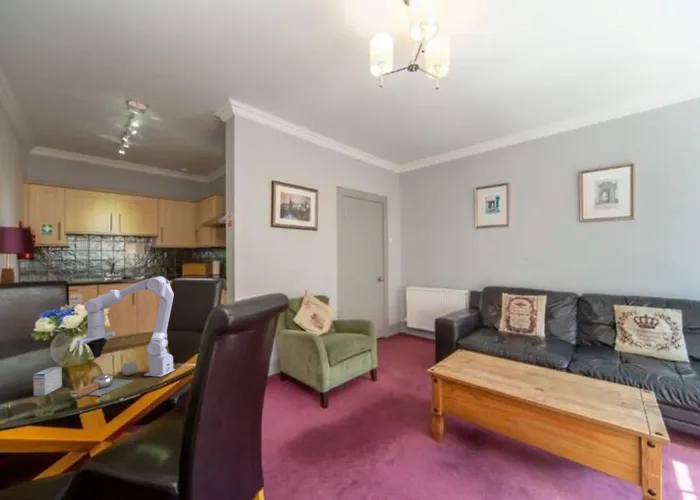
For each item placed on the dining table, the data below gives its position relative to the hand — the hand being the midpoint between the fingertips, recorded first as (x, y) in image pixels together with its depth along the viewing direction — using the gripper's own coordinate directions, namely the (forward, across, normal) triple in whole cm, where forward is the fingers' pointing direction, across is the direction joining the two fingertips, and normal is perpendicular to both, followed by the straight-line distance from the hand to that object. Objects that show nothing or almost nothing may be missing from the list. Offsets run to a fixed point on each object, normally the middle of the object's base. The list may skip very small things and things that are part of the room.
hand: (97, 357), depth 134 cm
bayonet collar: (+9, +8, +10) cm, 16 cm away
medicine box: (+11, +12, -10) cm, 19 cm away
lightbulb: (+9, -12, +1) cm, 15 cm away
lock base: (+10, +5, +10) cm, 15 cm away
